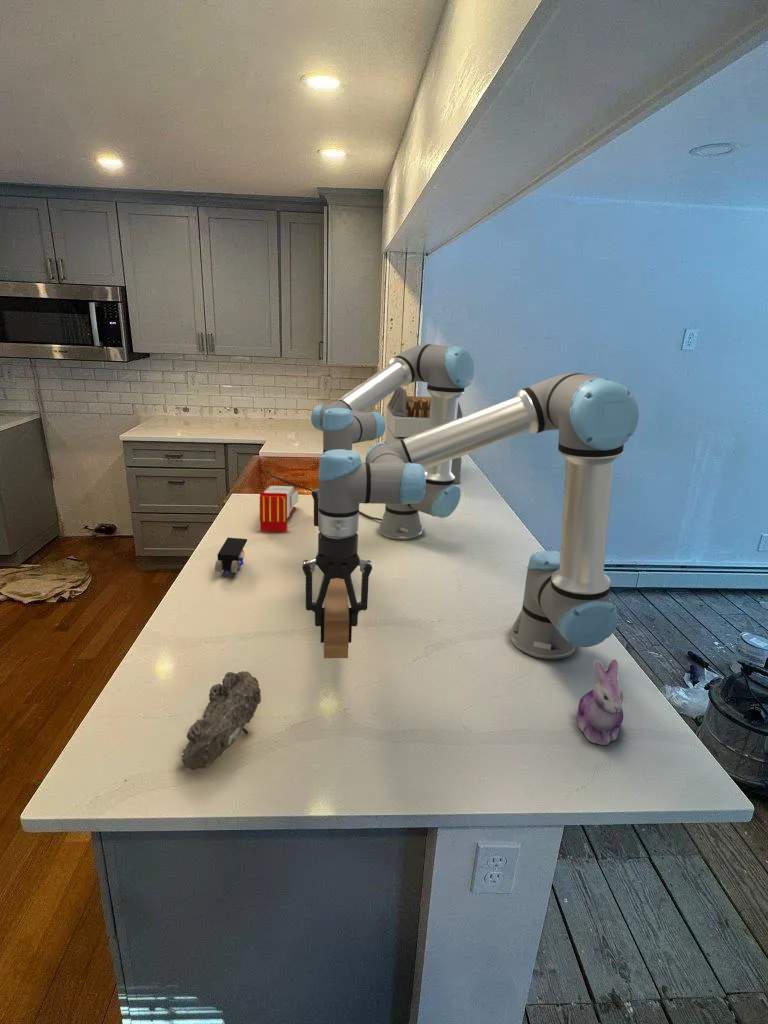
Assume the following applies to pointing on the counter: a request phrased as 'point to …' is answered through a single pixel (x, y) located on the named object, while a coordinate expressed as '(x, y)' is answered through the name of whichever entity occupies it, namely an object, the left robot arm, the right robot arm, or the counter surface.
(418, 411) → the grey tall slatted box
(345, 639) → the post
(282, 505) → the toy
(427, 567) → the counter surface
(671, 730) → the counter surface
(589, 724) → the figurine
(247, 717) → the fossil
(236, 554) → the figurine character
